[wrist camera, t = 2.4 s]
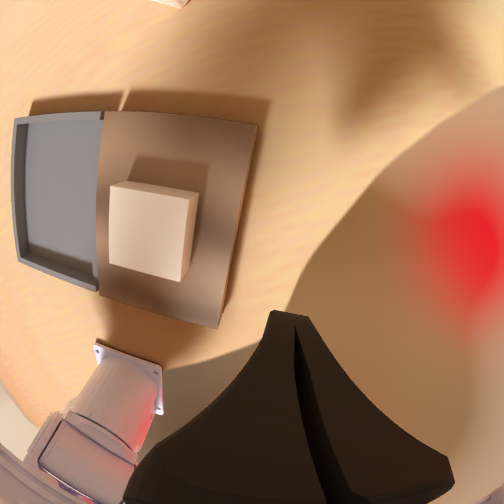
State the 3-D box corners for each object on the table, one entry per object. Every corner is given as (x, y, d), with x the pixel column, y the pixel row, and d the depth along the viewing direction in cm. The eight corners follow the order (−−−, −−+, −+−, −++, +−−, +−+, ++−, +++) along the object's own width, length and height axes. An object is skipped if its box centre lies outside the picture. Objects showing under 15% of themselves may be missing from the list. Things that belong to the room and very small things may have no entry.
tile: (189, 267, 18) (180, 282, 16) (123, 251, 18) (109, 263, 16) (199, 193, 16) (189, 199, 14) (126, 180, 16) (110, 186, 14)
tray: (106, 282, 21) (96, 292, 20) (29, 254, 21) (18, 261, 20) (114, 112, 16) (101, 111, 14) (27, 117, 16) (14, 118, 14)
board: (222, 314, 21) (217, 329, 19) (111, 283, 21) (99, 295, 19) (258, 127, 16) (256, 125, 14) (120, 112, 16) (104, 111, 14)
